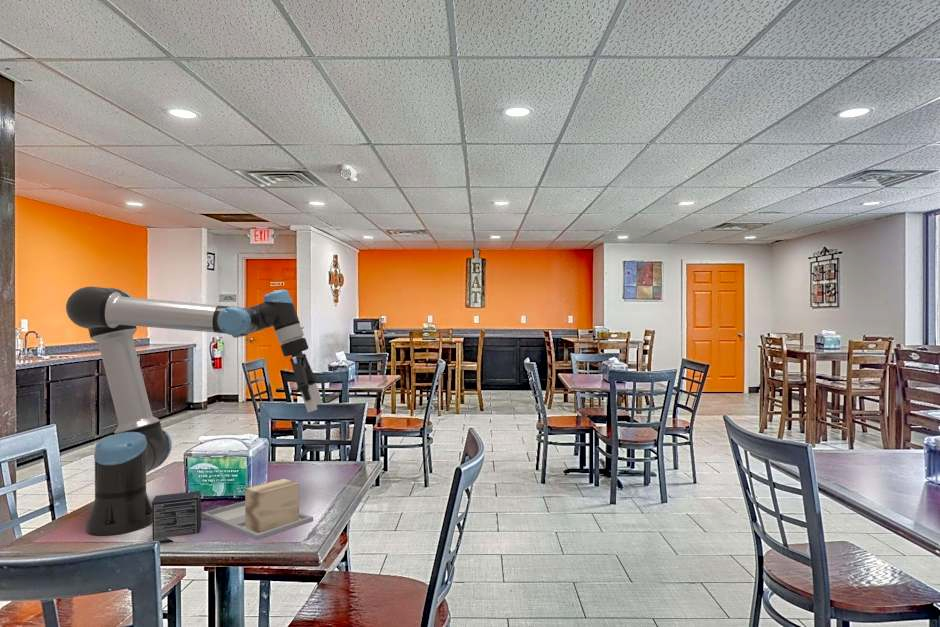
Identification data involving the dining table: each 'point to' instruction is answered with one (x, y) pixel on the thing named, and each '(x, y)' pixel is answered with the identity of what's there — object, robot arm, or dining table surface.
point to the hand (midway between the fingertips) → (315, 407)
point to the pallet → (235, 520)
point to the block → (271, 505)
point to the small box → (176, 515)
